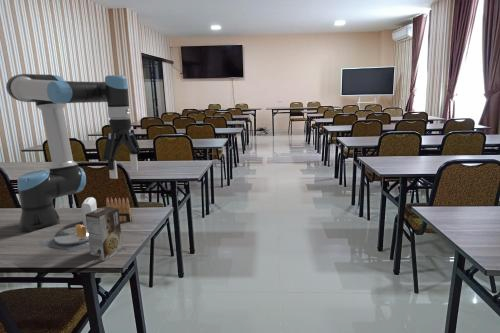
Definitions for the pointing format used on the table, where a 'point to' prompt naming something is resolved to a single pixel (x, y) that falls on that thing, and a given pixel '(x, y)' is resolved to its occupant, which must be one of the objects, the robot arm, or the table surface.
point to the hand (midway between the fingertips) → (124, 174)
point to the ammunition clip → (121, 208)
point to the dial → (72, 236)
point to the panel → (71, 248)
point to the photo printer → (88, 208)
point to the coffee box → (104, 232)
